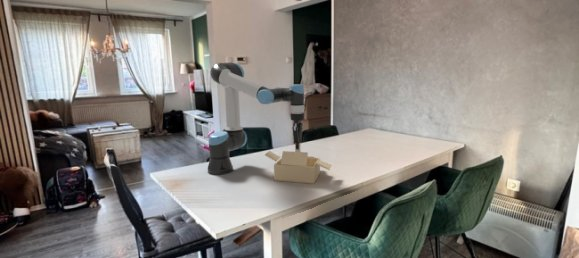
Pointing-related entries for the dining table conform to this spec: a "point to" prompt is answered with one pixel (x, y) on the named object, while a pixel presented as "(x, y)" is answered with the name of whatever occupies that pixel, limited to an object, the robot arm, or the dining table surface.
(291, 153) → the flap
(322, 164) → the flap
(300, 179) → the carton
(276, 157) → the flap
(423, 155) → the dining table surface
